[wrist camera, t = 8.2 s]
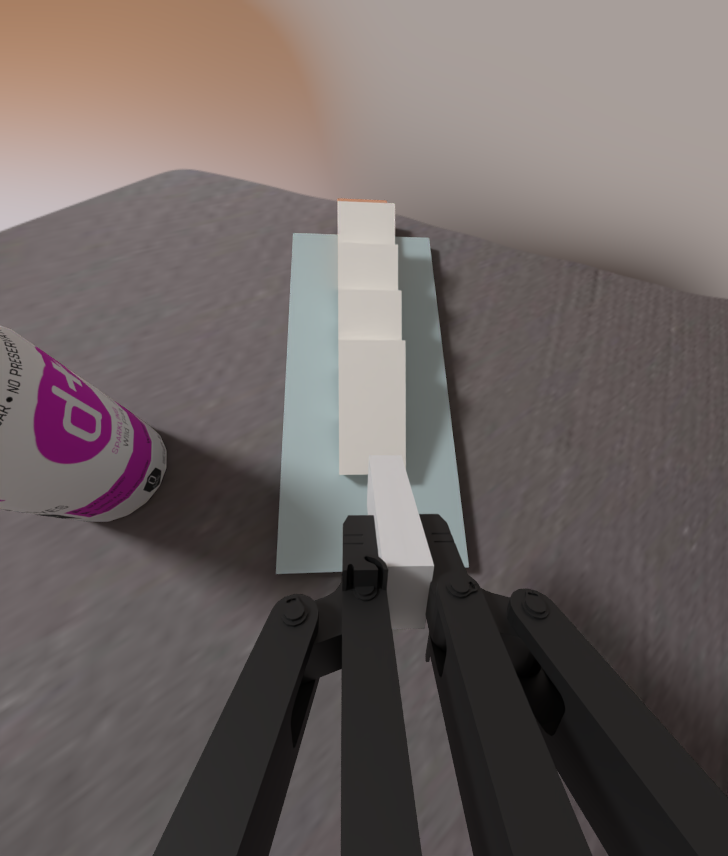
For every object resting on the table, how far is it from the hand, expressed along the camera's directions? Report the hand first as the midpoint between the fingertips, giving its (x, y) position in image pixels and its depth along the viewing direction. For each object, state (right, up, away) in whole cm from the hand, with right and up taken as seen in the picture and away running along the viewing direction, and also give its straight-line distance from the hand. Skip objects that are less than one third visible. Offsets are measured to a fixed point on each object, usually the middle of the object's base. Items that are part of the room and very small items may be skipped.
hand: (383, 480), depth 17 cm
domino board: (-1, +7, +16) cm, 17 cm away
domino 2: (-1, +8, +14) cm, 16 cm away
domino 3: (0, +3, +12) cm, 13 cm away
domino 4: (0, -1, +11) cm, 11 cm away
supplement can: (-20, -1, +12) cm, 23 cm away
